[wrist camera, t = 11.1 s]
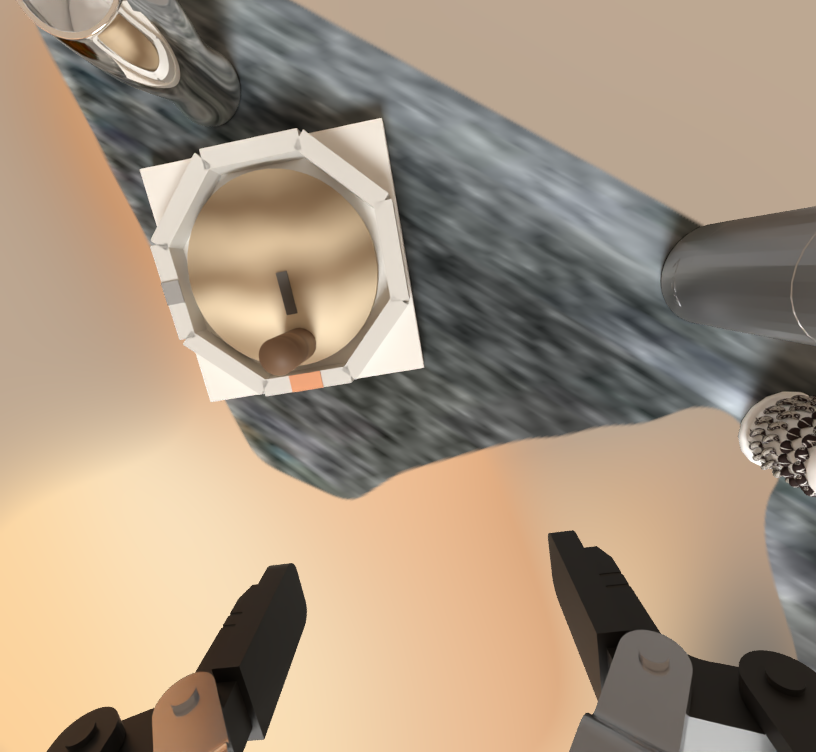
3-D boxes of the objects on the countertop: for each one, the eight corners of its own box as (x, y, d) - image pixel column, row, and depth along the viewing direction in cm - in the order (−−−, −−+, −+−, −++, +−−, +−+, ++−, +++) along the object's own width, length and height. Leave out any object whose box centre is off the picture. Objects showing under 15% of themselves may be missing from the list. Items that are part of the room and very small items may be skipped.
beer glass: (259, 112, 36) (150, 6, 22) (193, 146, 37) (45, 65, 23) (222, 28, 35) (78, -145, 20) (154, 65, 36) (-30, -75, 21)
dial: (171, 195, 36) (107, 176, 29) (355, 153, 35) (337, 121, 28) (227, 376, 40) (184, 399, 33) (395, 345, 39) (388, 361, 32)
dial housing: (383, 126, 36) (378, 106, 32) (424, 363, 41) (423, 373, 37) (154, 174, 38) (120, 162, 34) (220, 396, 43) (198, 409, 39)
